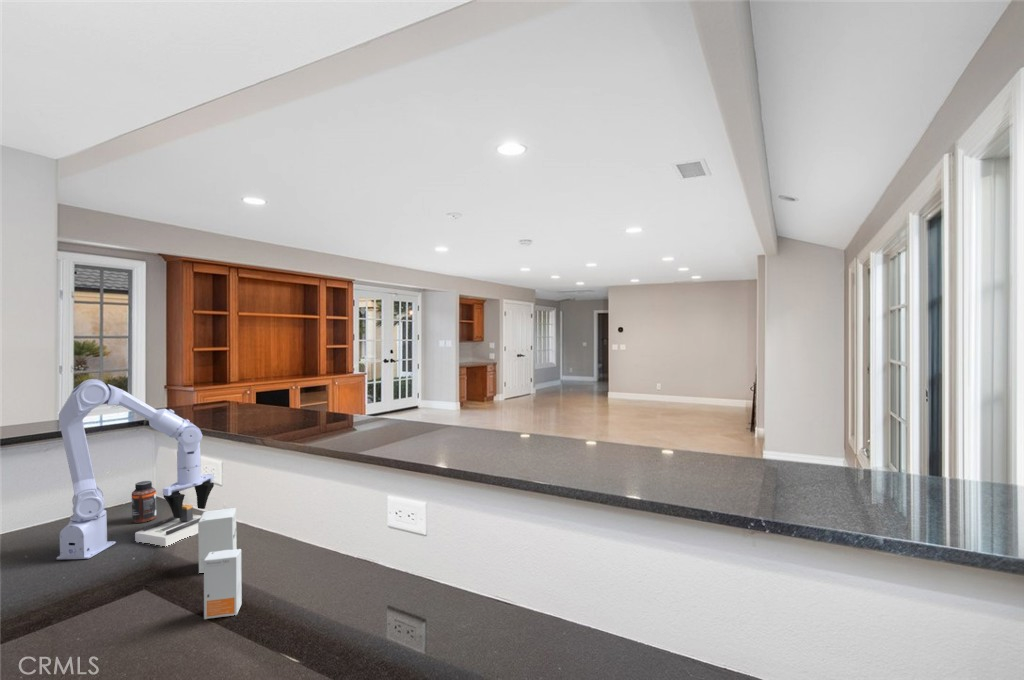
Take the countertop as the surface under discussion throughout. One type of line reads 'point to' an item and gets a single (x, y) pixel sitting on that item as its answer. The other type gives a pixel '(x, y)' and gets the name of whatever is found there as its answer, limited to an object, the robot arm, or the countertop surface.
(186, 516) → the handle
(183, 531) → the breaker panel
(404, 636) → the countertop surface
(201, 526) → the supplement box
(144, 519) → the supplement bottle
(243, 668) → the countertop surface
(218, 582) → the skincare box
